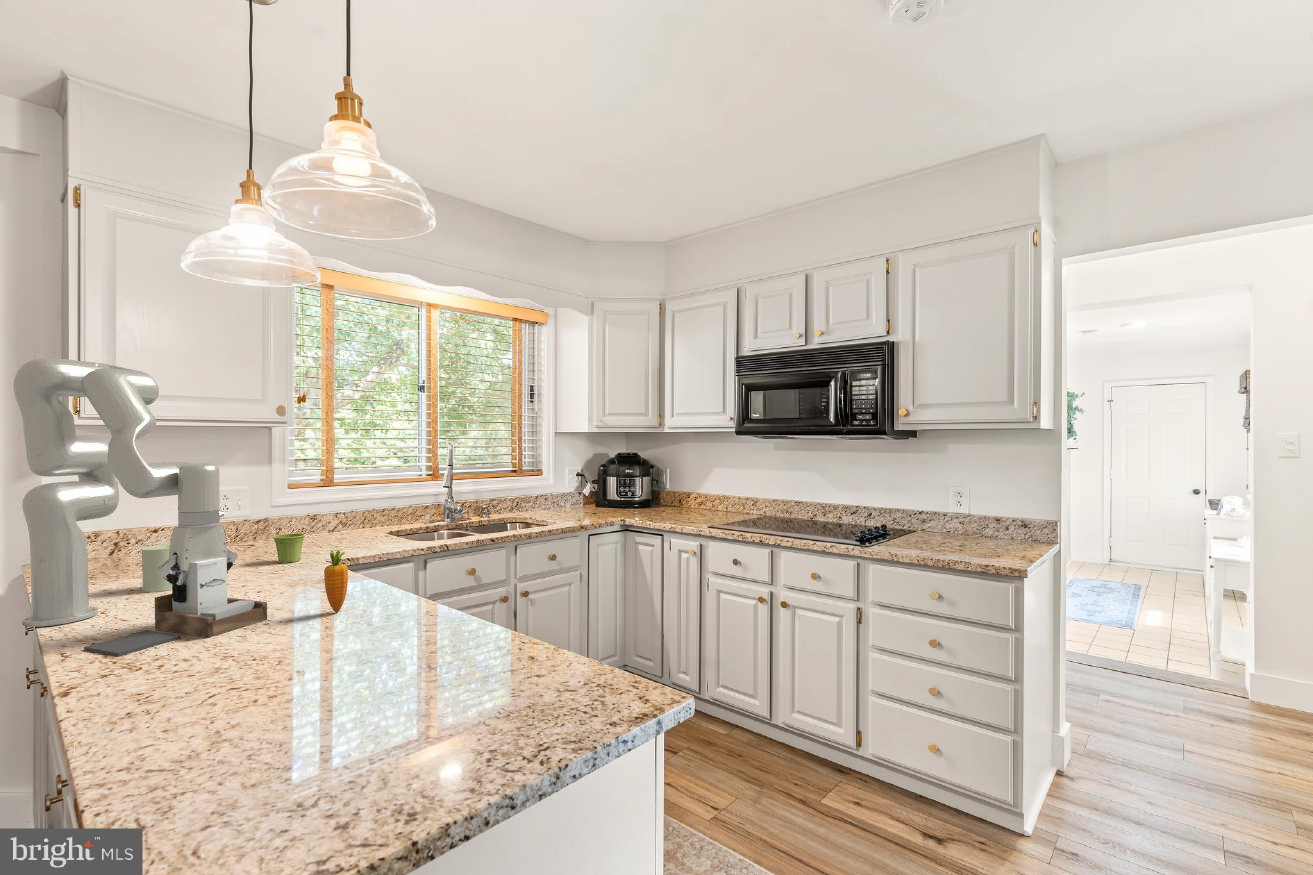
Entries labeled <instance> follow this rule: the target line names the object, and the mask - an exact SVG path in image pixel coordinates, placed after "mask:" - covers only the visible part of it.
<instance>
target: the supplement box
mask: <svg viewBox="0 0 1313 875" xmlns="http://www.w3.org/2000/svg"><path fill="white" fill-rule="evenodd" d="M177 566H178V563H177V564H176V567H175V564H174V566H173V568H177ZM179 569H180V568H179ZM174 570H176V569H174ZM174 572H175V571H172V574H173V573H174ZM180 574H181V573H180ZM183 584H185V585H186V602H184V603H178V602H174V601H173V598H172V612H178V613H186V614H193V615H200V613H201V612H205V611H208V610H211V609H214V608H217V607H220V606H224V605H227V597H228V574H227V558H218V559H211V560H205V561H199V562H194V563H192V564H191V569H190V572H188V575H187V577H186V578H185V580H184V582H183Z"/></svg>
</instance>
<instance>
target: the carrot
mask: <svg viewBox="0 0 1313 875" xmlns="http://www.w3.org/2000/svg"><path fill="white" fill-rule="evenodd" d="M345 553H346V552H345V551H342V552H341V549H337V550H336V552H335V550H334V549H333V550H330V553H329V555H330V560H331V564H329V565H327V566H326V567H324V570H323V577H324V588H325V593H326V598H327V601H328V603H329V606H330V607H331V609H332V611H333V612H334V613H335V614H338V613H339V612H340V611H341V609H342V608H343V605H344V602H345V600H346V595H347V591H348V581H349V568H348V566H347V565H346V564H343V563H340V562H341V561H342V560H343V558H342V556H344V555H345Z"/></svg>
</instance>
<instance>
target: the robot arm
mask: <svg viewBox="0 0 1313 875" xmlns="http://www.w3.org/2000/svg"><path fill="white" fill-rule="evenodd" d="M13 393H14V397H15V399H16V402H17V405H18V409H19V410H20V414H21V417H22V419H21V420H22V425H23V436H24V446H25V453H26V460H27V464H28V468H29V469H30V471H31V473H32V474H34V475H37V476H39V477H46V478H47V477H48V478H49V477H50V478H51V477H68V476H69V477H70V476H71V477H72V476H77V477H78V480H77V481H76V480H75V481H72V480H71V481H57V482H49V483H44V484H40V485H37V486H35V487H32V489H31V488H30V490H28V491H27V492H26V493H25V494H24V497H23V498H22V505H21V506H22V512H23V515H24V516H23V517H24V518H25V522H26V525H27V529H28V537H29V538H28V539H29V555H30V586H31V587H30V589H31V590H30V591H31V592H30V594H31V596H30V597H31V603H30V605H29V607H30V608H31V615H29V616H26V617H24V618H23V619H22V626H23V627H28V628H37V627H38V628H39V627H52V626H58V625H65V624H70V623H71V624H72V623H75V622H80V621H83V620H86V619H89V618H92V617H94V616H96V615H97V614H98V613H99V609H98V607H94V606H90V599H89V598H90V597H89V596H90V595H89V592H90V591H89V561H88V560H89V558H88V556H89V555H88V540H87V536H86V535H85V533H84V531H83V530H82V529H81V528H80V526H79V524H77V522H83V521H87V520H95V519H101V518H105V517H108V516H110V515H111V514H113V513H114V512H115V511H116V509H118V506H119V502H120V490H119V489H120V488H119V486H120V487H122V489H123V490H124V491H125V492H126V493H127V494H129V495H130V496H132V497H134V498H137V499H151V498H160V497H161V498H162V497H171V496H177V526H174V527H173V529H172V533H171V536H170V541H169V544H170V549H169V559H168V560H167V561H166V562H164V563H163V564H162V565H161V566H160V567H159V568H158V569H157V571H158V572H159V573H160V574H161V576H163V578H164V579H165V580H167V581H168V582H169V583H170V584H172V590H171V594H172V598H173V601H174V602H178V603H184V602H186V585H185V584H183V582H184V580H185V578H186V577H187V575H188V572H190V569H191V564H192V563H194V562H199V561H205V560H211V559H218V558H227V575H228V574H229V571H230V569H231V568H232V567H233V566H234V565H233V564H234V563H235V562H236V560H237V558H238V554H237V553H235V551H234V552H233V551H232V550H230V549H228V548H227V538H226V533H225V529H224V525H223V523H222V522H221V518H222V517H224V516H225V512H224V510H221V509H220V503H221V502H220V497H221V496H220V469H219V468H220V467H219V466H218V465H217V464H214V463H191V462H185V461H171V462H170V461H169V462H166V461H165V462H151V463H150V462H148V463H147V462H146V461H145V460H144V459H143V457H142V456H141V454H140V452H139V451H138V449H137V446H136V441H137V440H140V439H141V438H142V437H145V436H147V435H148V434H149V433H151V432H152V431H153V430H154V429H155V428H156V426H157V419H156V417H155V416H154V414H153V413H152V411H151V409H150V407H148V406H149V405H152V404H154V403H155V402H156V401H157V400H158V397H159V394H160V388H159V385H158V382H157V381H156V380H155V378H154V377H153V376H152V375H150V374H149V373H147V372H145V371H142V370H137V369H131V368H127V367H121V366H117V365H113V364H108V363H102V362H96V361H95V362H94V361H83V360H75V359H69V358H68V359H67V358H53V357H52V358H51V357H47V358H46V357H45V358H44V357H42V358H36V359H32V360H29V361H27V362H25V363H23V364H22V365H21V366H20V368H18V370H17V371H16V374H15V376H14V379H13ZM60 397H74V398H75V397H76V398H77V397H78V398H87V399H88V401H89V403H90V404H91V406H92V407H93V409H94V410H95V412H96V413H97V415H98V416H99V418H100V419H101V421H102V422H103V424H104V425H105V427H106V429H107V430H108V431H109V433H110V435H111V438H110V440H109V442H108V441H107V440H106V439H104V438H102V437H100V436H96V435H82V434H81V435H80V434H79V435H77V432H76V426H75V418H74V415H73V413H72V411H71V410H70V409H69V407H68V406H67V404H66V403H64V401H62V400H61V399H60ZM177 563H178V566H177V568H173V566H174V564H175V567H176V564H177ZM179 568H180V569H179ZM174 569H176V570H174ZM169 570H171V571H175V572H174V573H173V574H171V573H170V571H169ZM180 573H181V574H180Z"/></svg>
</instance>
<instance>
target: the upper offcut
mask: <svg viewBox="0 0 1313 875" xmlns="http://www.w3.org/2000/svg"><path fill="white" fill-rule="evenodd" d="M254 601H255V600H254ZM254 601H236V602H233V603H230V604H227V605H224V606H220V607H217V608H214V609H211V610H208V611H205V612H201V613H200V616H208V617H213V621H214V620H218V619H221V618H225V617H228V616H232V615H235V614H239V613H242V612H246V611H249V610H253V609H254Z"/></svg>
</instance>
